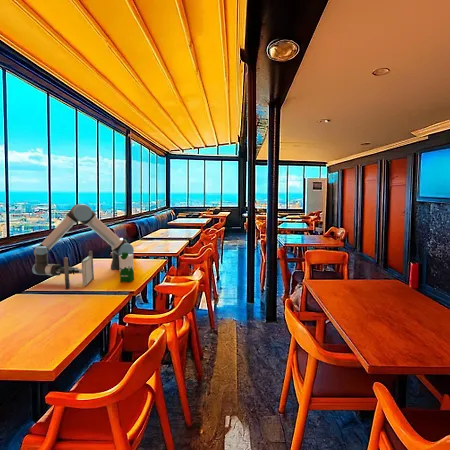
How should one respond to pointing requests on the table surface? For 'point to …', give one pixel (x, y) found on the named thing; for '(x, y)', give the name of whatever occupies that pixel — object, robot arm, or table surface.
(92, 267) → the posts
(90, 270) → the beige framed panel
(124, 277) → the milk carton
